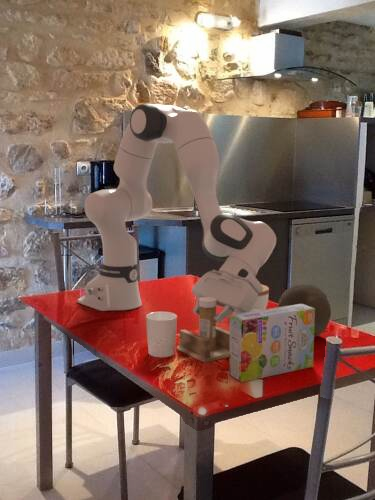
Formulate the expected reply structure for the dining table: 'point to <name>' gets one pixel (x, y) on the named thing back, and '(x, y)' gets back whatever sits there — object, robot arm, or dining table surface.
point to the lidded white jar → (261, 300)
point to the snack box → (271, 341)
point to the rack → (205, 345)
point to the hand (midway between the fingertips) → (205, 317)
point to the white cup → (161, 333)
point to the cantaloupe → (309, 303)
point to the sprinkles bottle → (208, 320)
